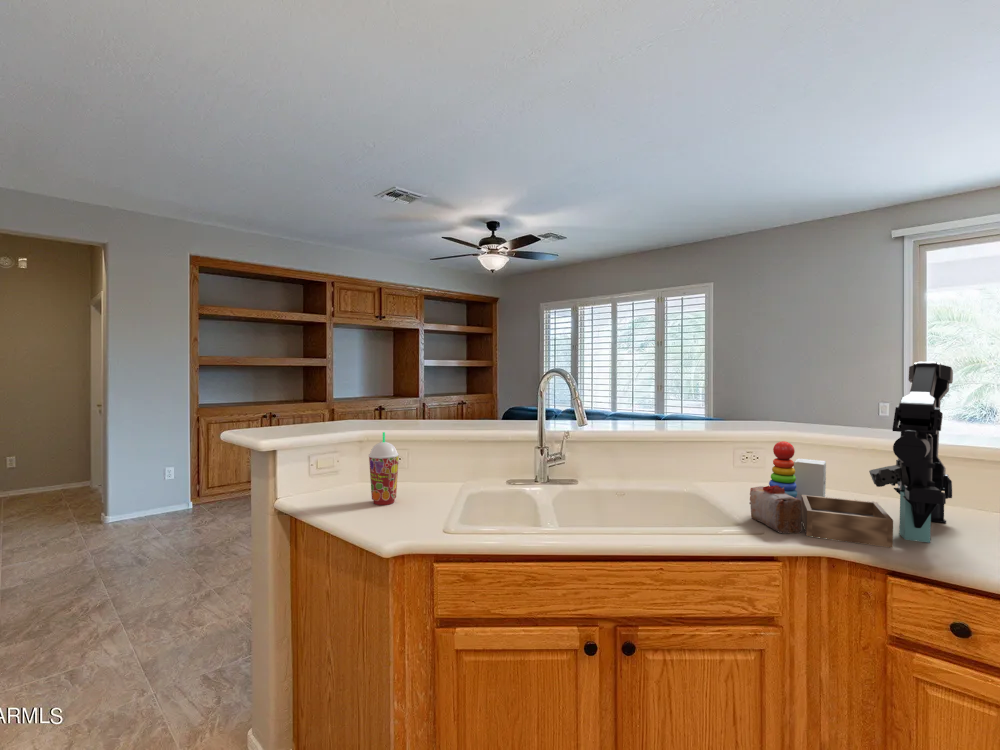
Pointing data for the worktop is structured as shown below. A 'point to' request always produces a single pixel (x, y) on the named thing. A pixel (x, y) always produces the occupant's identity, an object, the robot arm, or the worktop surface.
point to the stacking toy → (784, 468)
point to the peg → (912, 523)
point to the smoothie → (383, 472)
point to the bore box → (847, 520)
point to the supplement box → (810, 477)
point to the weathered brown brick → (776, 509)
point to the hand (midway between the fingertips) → (914, 524)
